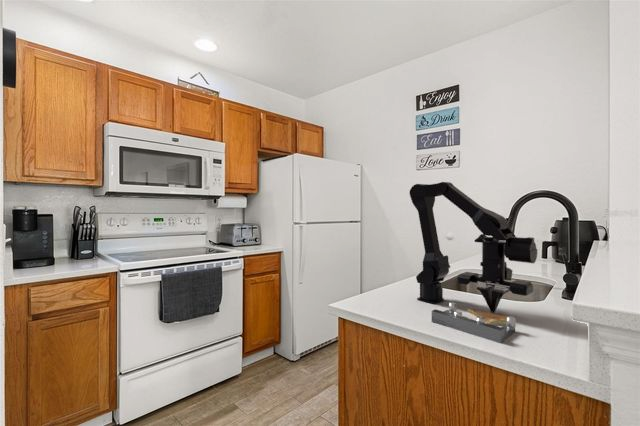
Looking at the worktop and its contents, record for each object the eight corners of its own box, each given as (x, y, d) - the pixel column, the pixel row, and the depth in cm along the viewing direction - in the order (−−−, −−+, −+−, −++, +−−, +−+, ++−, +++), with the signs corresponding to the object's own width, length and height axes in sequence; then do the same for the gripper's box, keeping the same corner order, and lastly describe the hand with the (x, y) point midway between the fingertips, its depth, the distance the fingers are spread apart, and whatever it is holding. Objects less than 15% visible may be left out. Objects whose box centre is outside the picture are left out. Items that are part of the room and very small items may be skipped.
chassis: (431, 321, 90) (431, 309, 89) (450, 313, 96) (450, 301, 96) (500, 343, 76) (500, 328, 75) (517, 331, 82) (517, 318, 82)
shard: (467, 313, 97) (467, 307, 97) (491, 312, 98) (491, 306, 98) (488, 326, 87) (488, 320, 86) (515, 325, 87) (515, 319, 87)
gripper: (540, 259, 91) (539, 313, 92) (473, 251, 105) (473, 299, 106) (526, 264, 84) (525, 323, 85) (456, 256, 98) (456, 306, 99)
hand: (493, 311), depth 94 cm, fingers closed
